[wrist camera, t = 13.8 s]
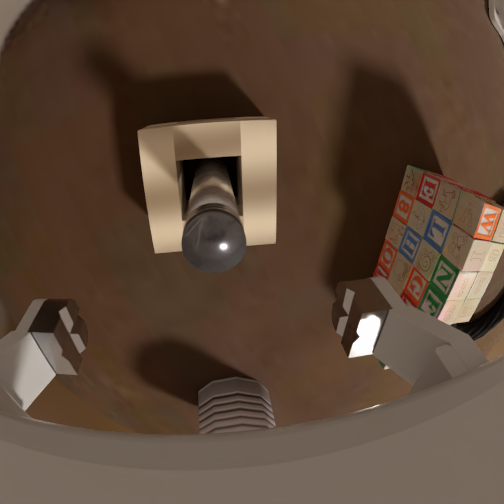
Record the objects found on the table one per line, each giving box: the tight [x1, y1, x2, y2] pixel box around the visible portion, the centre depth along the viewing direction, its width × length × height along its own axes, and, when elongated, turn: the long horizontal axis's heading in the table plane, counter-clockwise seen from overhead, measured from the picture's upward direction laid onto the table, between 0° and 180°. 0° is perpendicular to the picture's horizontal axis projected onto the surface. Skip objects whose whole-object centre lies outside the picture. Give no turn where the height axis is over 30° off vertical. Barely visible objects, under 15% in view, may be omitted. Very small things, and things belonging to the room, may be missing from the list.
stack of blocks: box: [373, 165, 504, 369], centre depth 28 cm, size 21×6×12 cm, turn 172°
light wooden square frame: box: [138, 117, 277, 253], centre depth 24 cm, size 10×10×5 cm
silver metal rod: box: [181, 158, 247, 273], centre depth 20 cm, size 3×3×14 cm
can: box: [198, 377, 276, 434], centre depth 38 cm, size 11×11×12 cm
